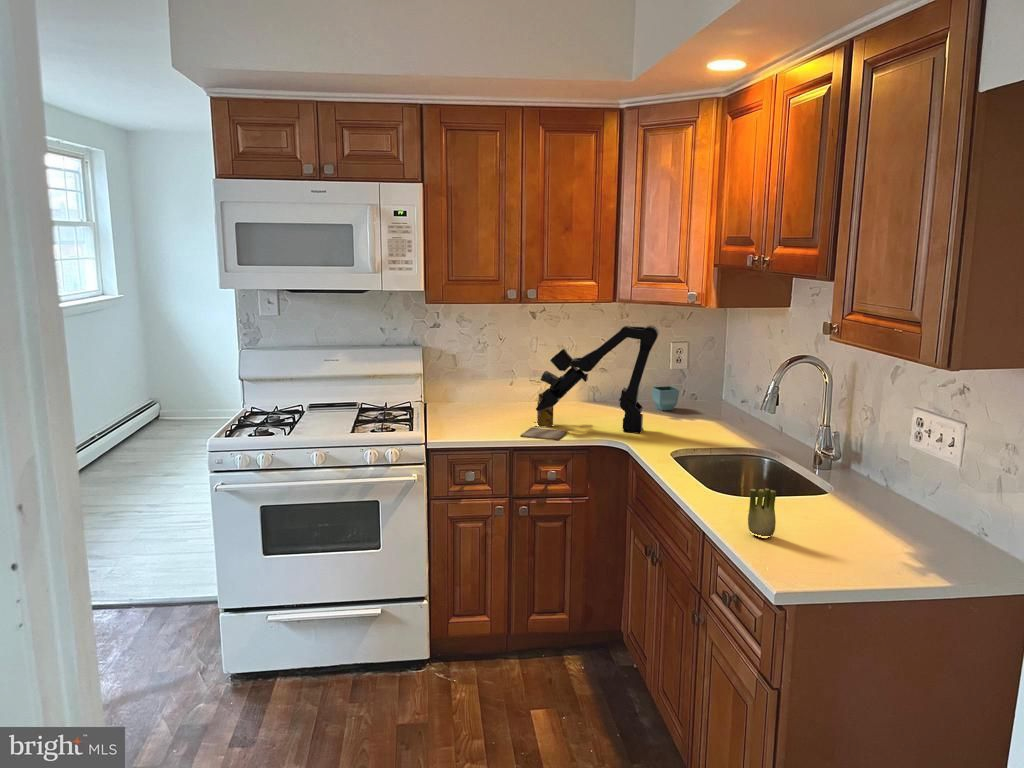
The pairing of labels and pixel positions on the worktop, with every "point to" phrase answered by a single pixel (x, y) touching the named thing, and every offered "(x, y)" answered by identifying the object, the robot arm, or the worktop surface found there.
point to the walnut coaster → (544, 433)
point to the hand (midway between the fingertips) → (539, 407)
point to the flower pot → (665, 397)
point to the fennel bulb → (762, 512)
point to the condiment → (544, 415)
